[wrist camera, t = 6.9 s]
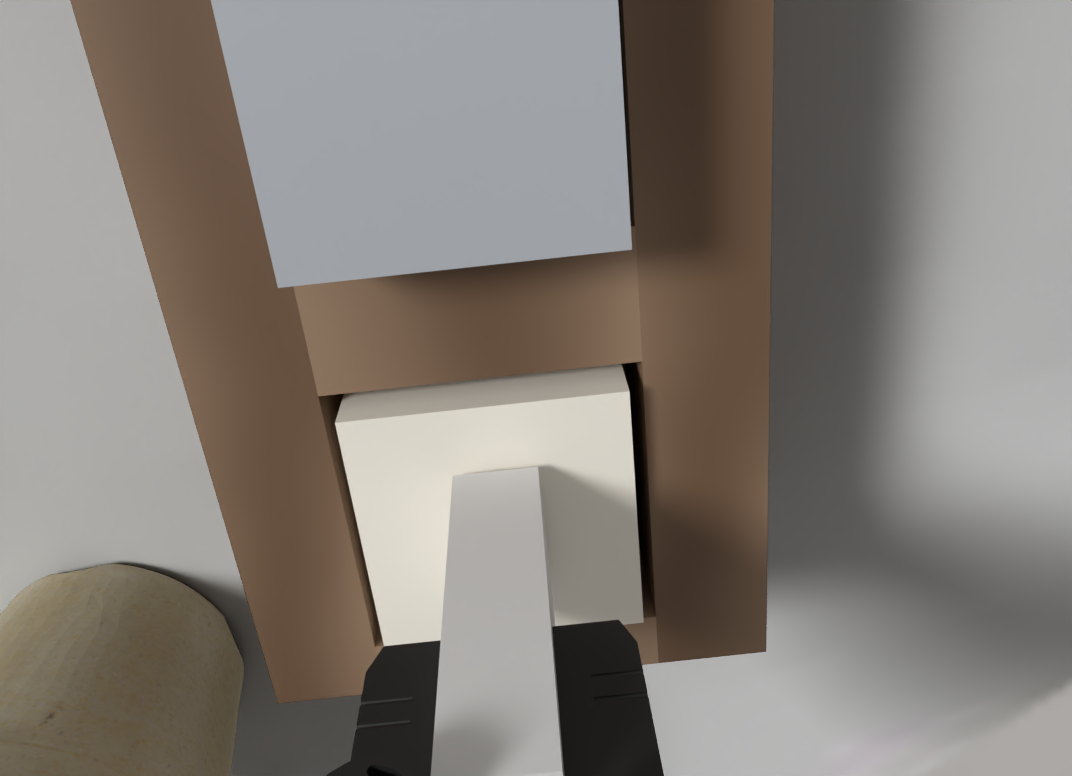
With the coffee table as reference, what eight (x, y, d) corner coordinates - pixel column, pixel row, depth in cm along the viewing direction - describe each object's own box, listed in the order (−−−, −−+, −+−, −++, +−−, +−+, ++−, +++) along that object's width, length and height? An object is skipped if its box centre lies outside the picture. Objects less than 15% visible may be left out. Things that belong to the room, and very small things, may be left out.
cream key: (396, 570, 21) (384, 650, 18) (354, 360, 18) (335, 422, 16) (626, 545, 20) (643, 622, 18) (612, 333, 18) (629, 390, 16)
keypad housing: (317, 556, 24) (277, 703, 19) (-30, -849, 13) (-297, -1243, 9) (714, 513, 24) (766, 651, 19) (688, -932, 13) (790, -1370, 9)
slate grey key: (308, 234, 16) (278, 288, 13) (235, -107, 13) (184, -113, 11) (611, 201, 16) (631, 248, 13) (589, -147, 13) (609, -160, 11)
